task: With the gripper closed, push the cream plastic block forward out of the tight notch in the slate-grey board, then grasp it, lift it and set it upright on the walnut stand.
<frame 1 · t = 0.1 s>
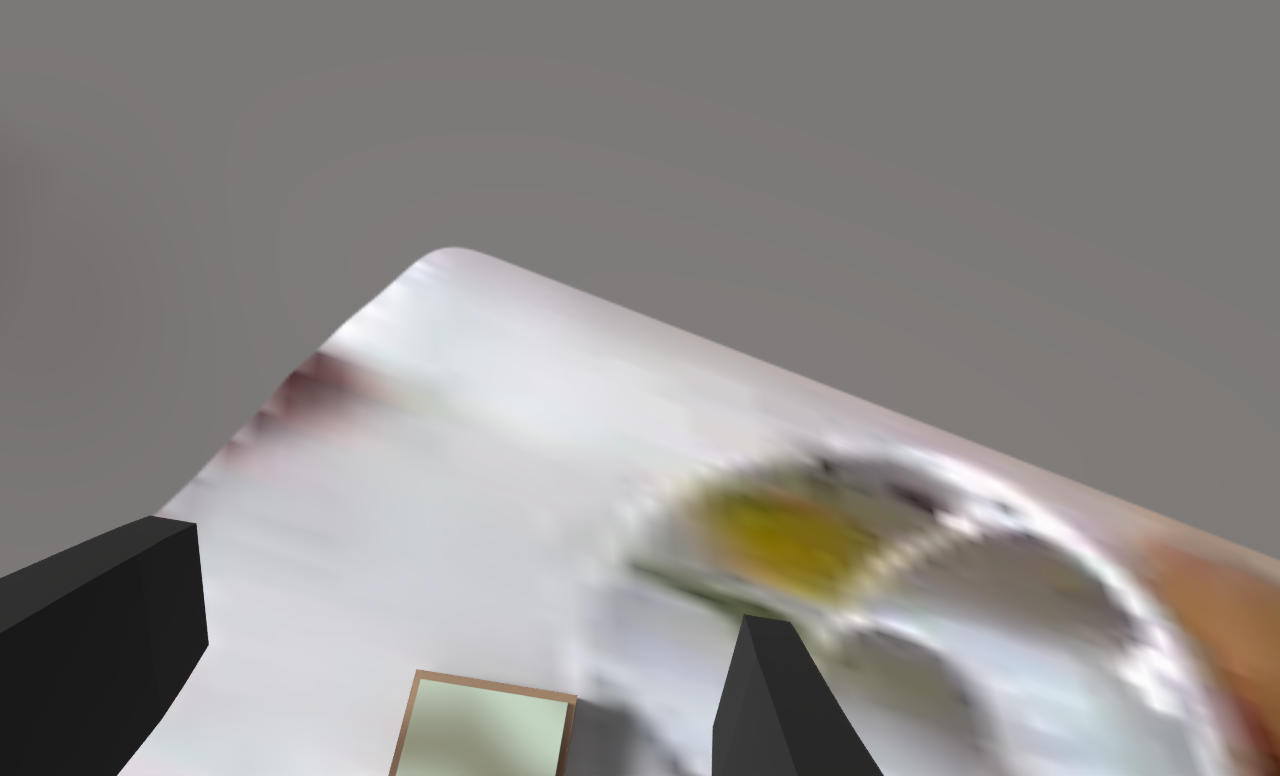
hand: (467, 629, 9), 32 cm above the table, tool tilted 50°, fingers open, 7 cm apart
walnut stand: (485, 769, 37), on the table
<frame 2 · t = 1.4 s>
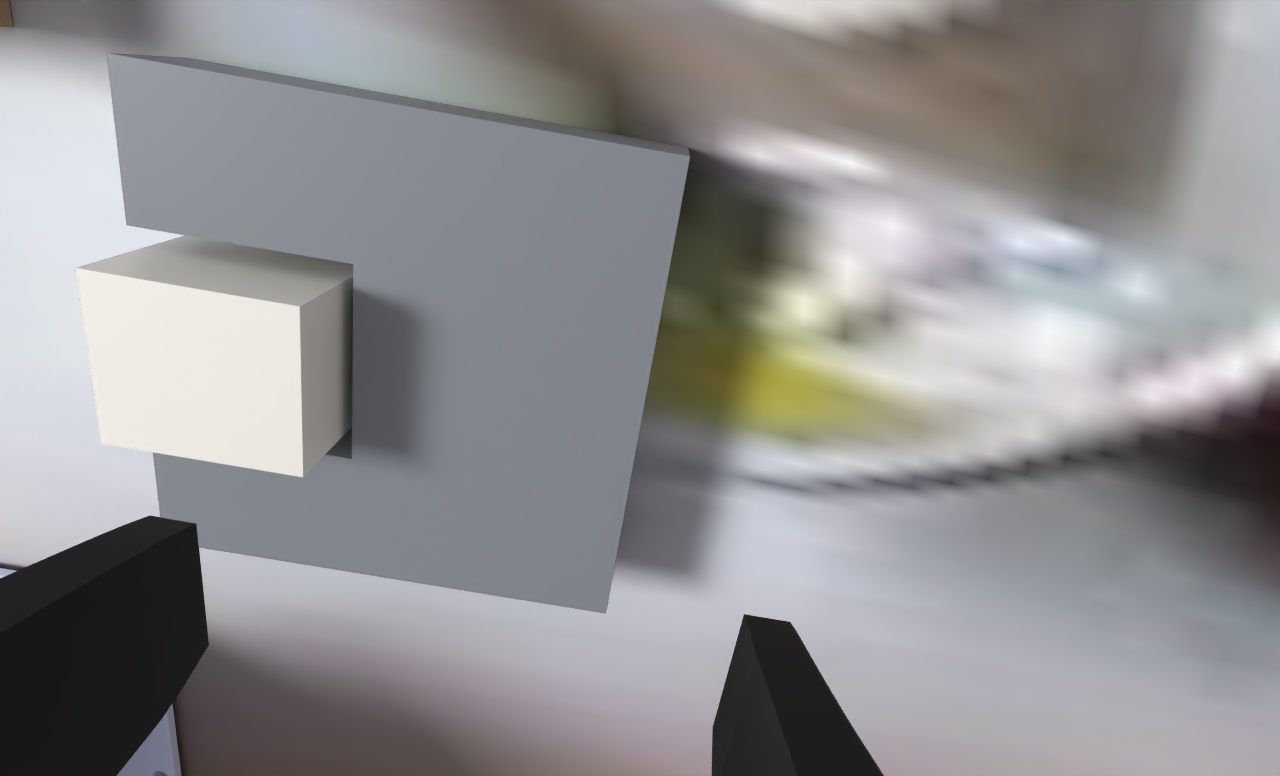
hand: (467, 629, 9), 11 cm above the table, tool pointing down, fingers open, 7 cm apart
cream block: (298, 316, 19), on the table
slate notch board: (426, 339, 19), on the table
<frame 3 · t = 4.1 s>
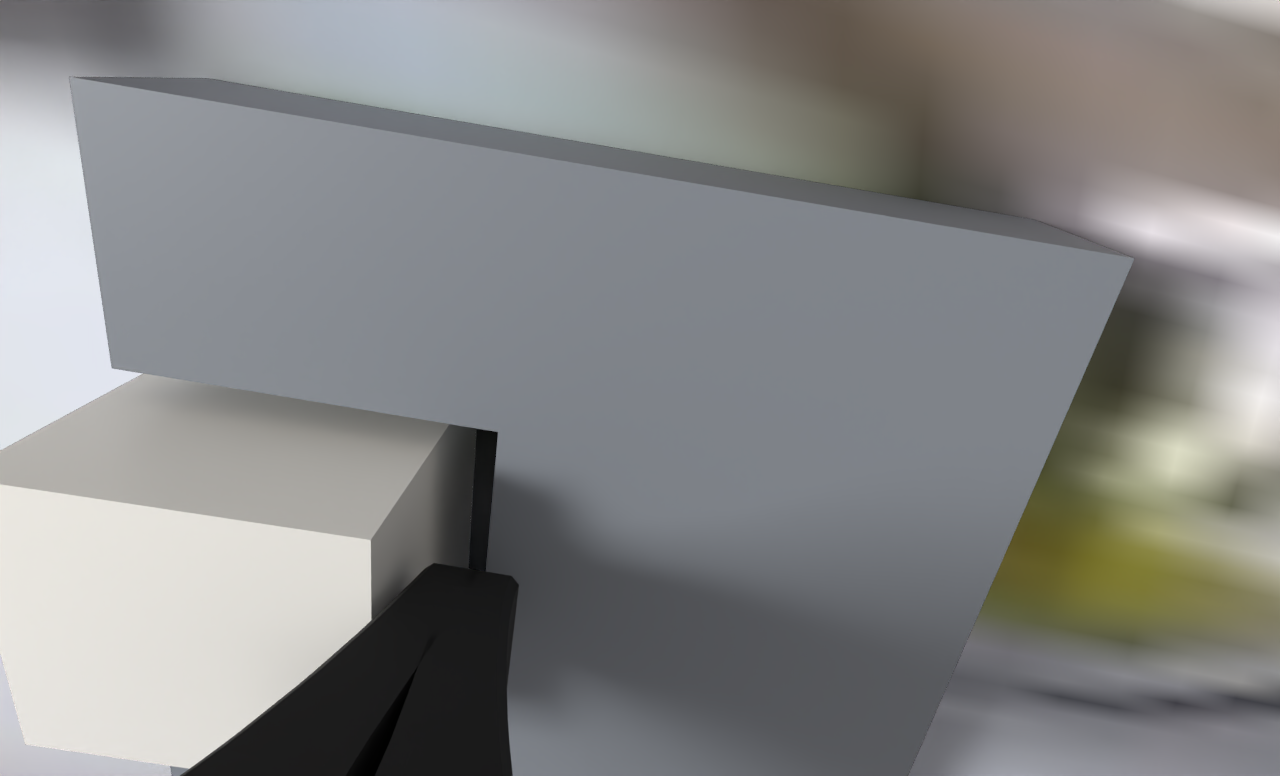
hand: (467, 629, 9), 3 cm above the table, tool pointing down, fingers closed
cream block: (346, 464, 13), on the table, touching gripper
slate notch board: (573, 502, 13), on the table
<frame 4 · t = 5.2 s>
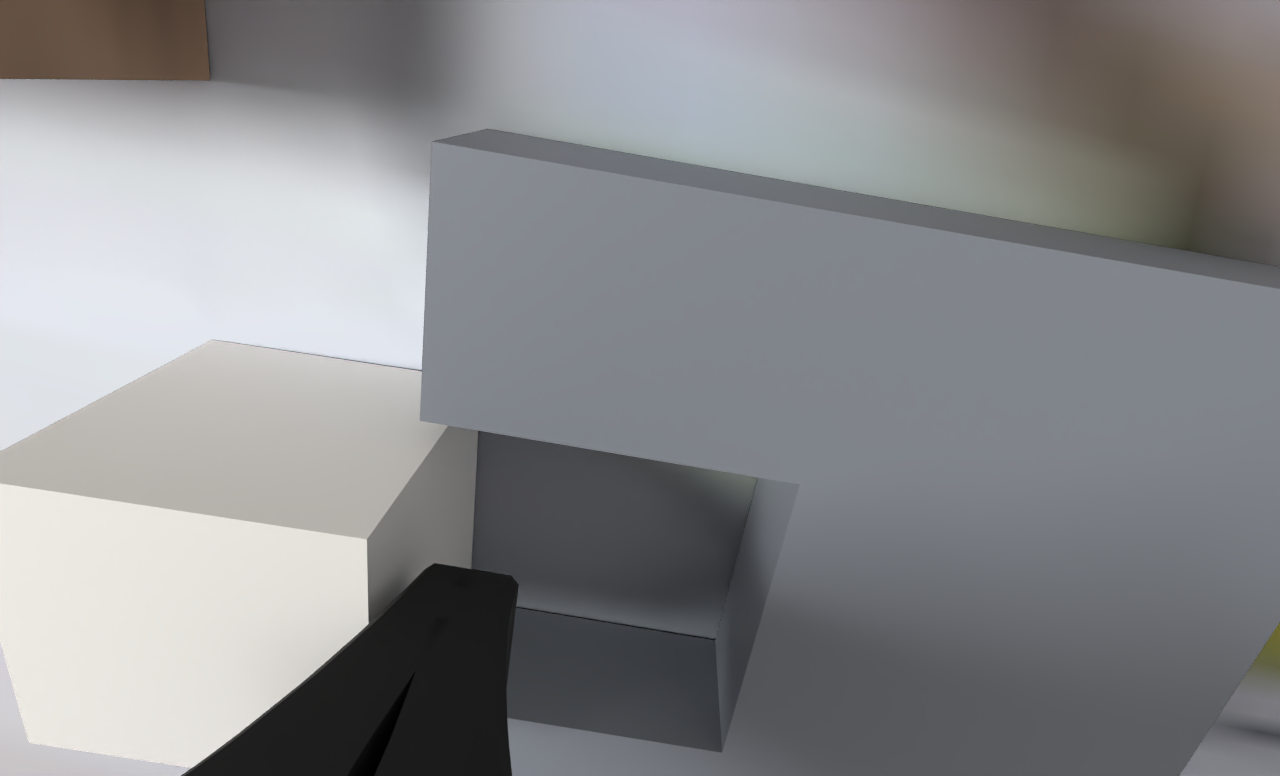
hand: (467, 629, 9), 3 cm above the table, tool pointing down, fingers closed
cream block: (349, 465, 13), on the table, touching gripper
slate notch board: (796, 541, 13), on the table
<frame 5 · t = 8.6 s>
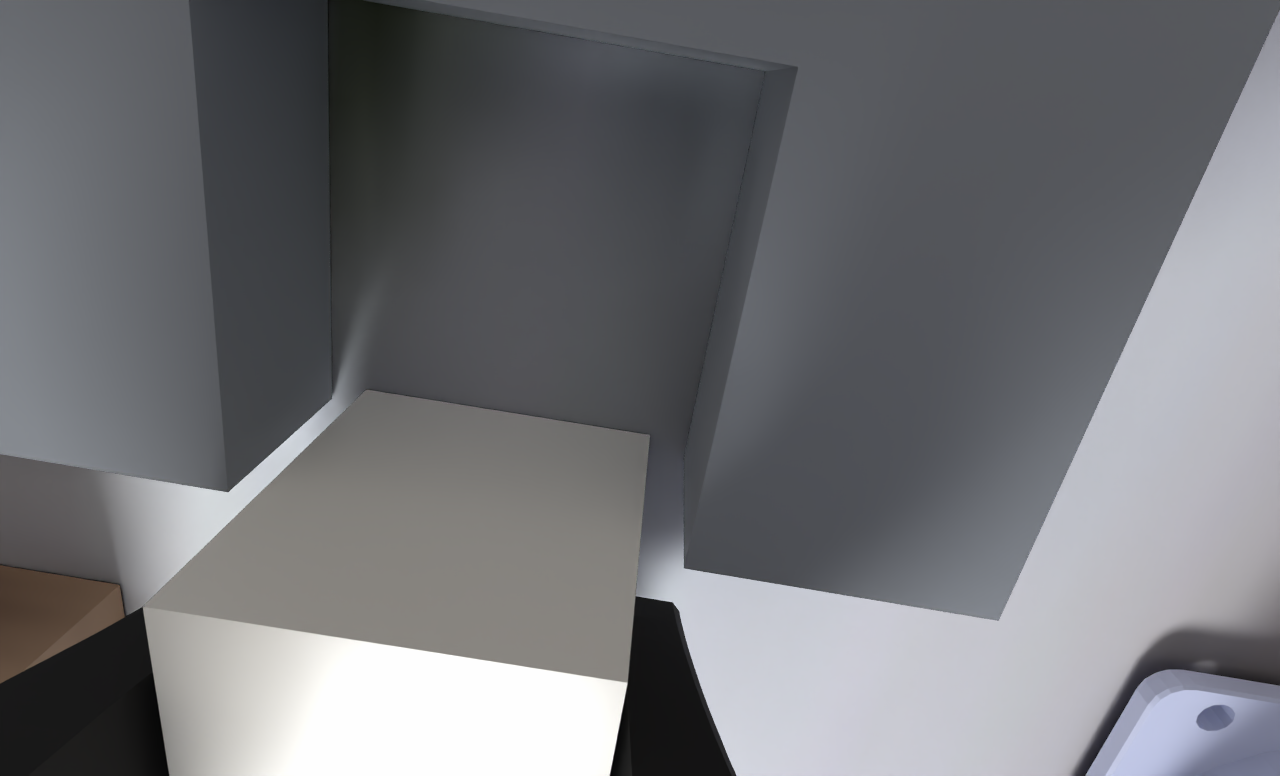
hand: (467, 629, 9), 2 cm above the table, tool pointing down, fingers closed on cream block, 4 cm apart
cream block: (497, 544, 11), on the table, touching gripper
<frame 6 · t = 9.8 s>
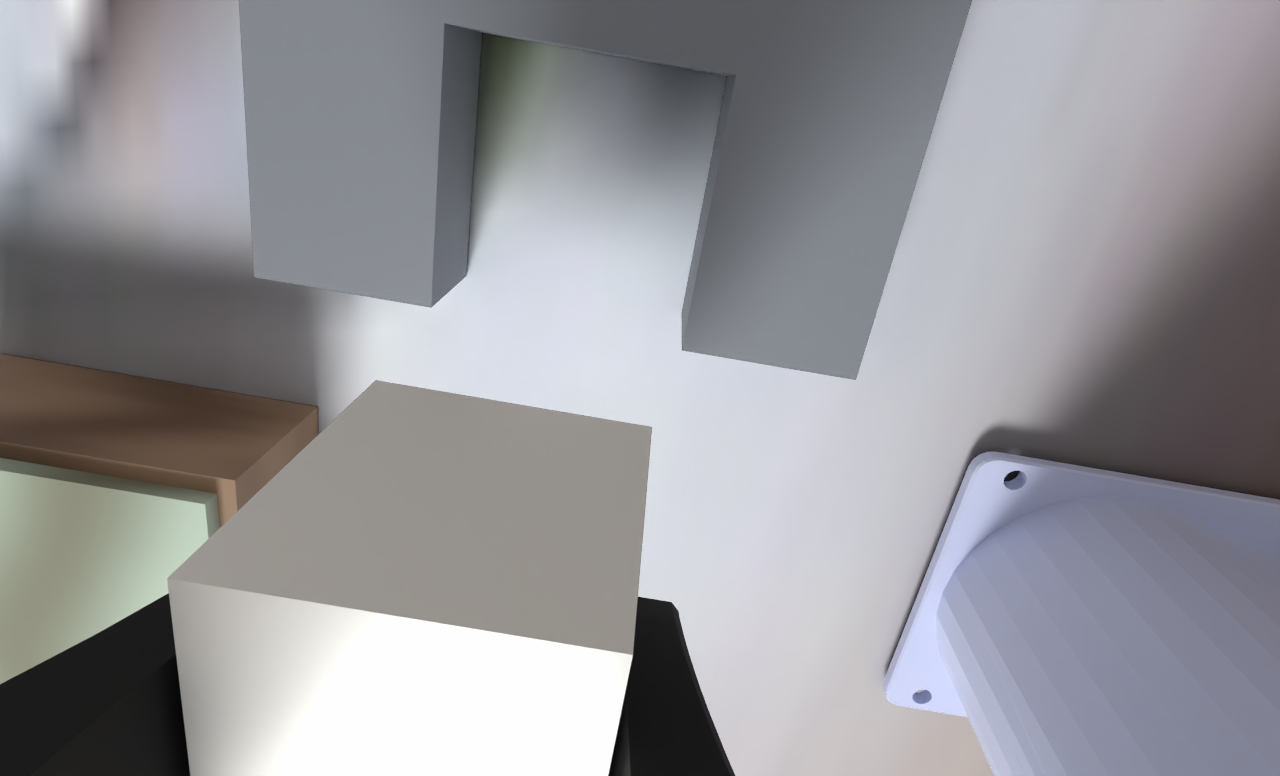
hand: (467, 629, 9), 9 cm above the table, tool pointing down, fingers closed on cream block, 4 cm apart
walnut stand: (173, 514, 19), on the table
cream block: (500, 534, 11), point 7 cm above the table, touching gripper
slate notch board: (611, 1, 14), on the table
when the fingers open (7 cm above the table, at t = 11.5 s): cream block stays where it is, resting on walnut stand.
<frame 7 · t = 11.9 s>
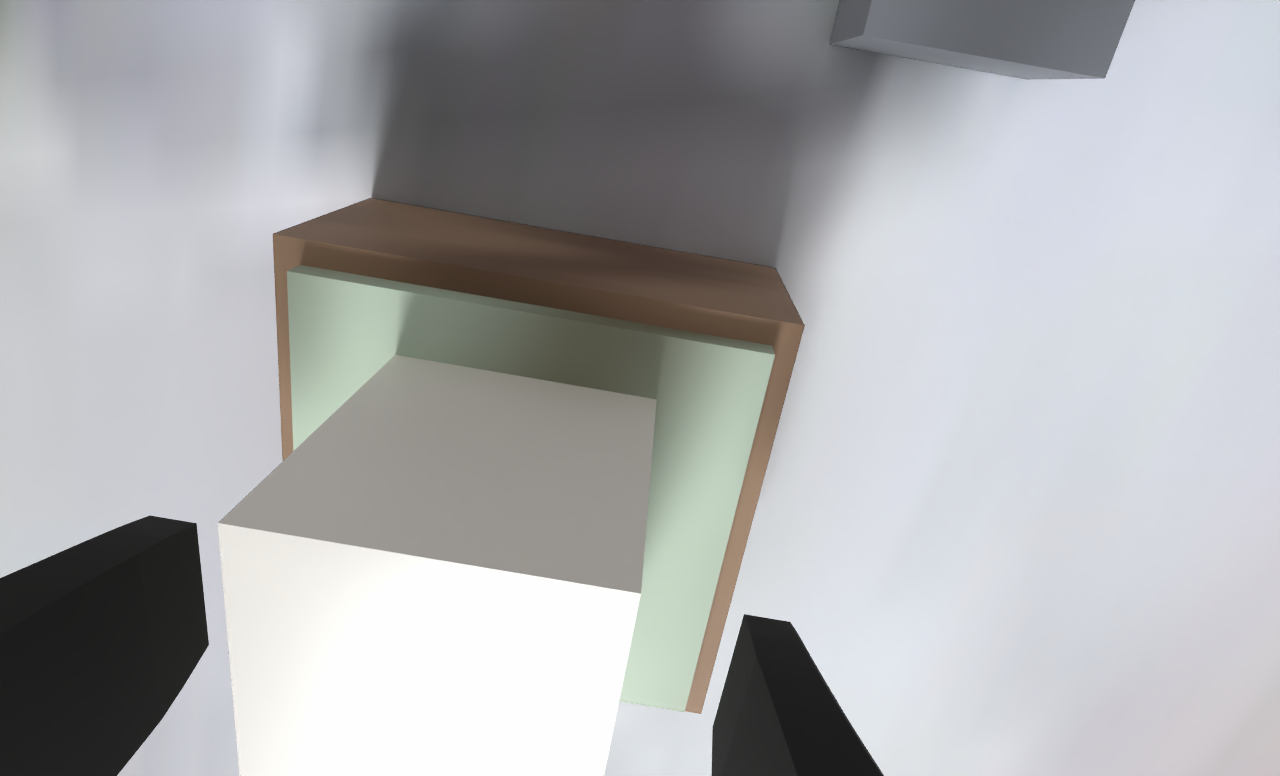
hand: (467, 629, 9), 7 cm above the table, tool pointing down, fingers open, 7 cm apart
walnut stand: (551, 415, 16), on the table
cream block: (512, 502, 12), point 4 cm above the table, touching walnut stand
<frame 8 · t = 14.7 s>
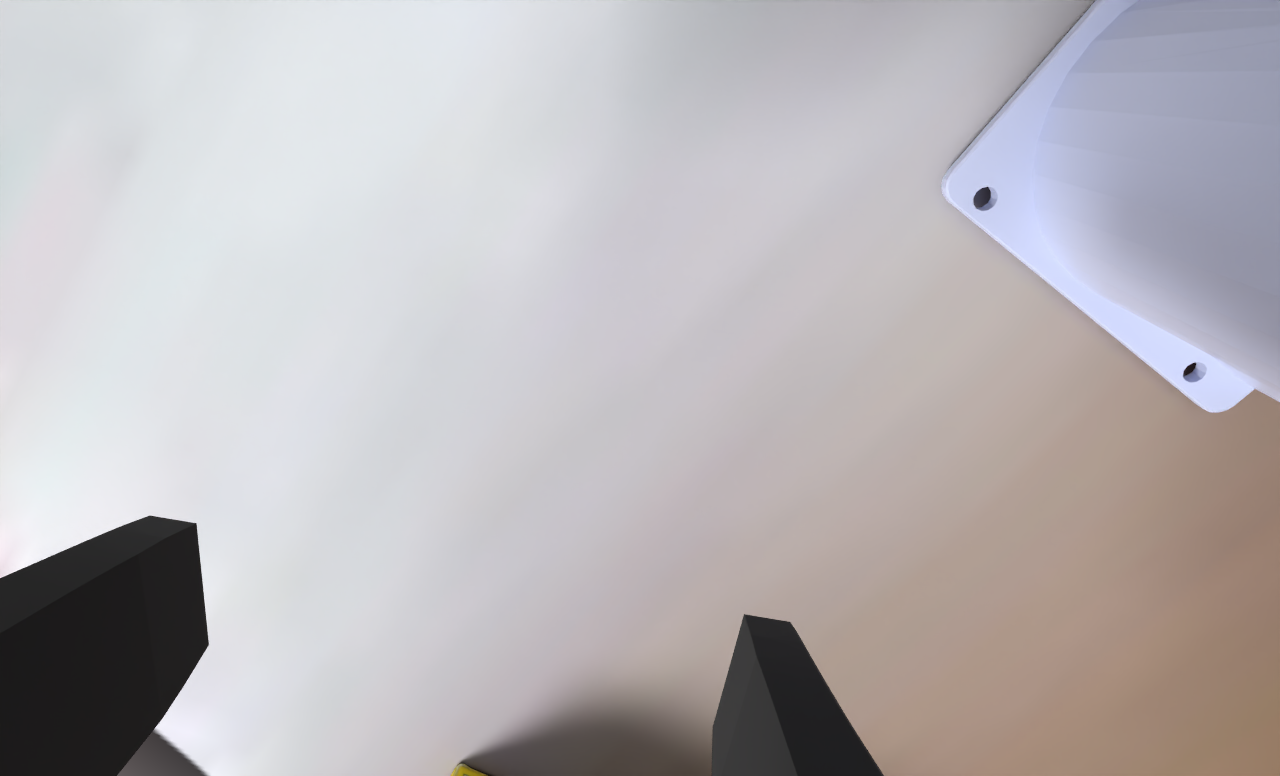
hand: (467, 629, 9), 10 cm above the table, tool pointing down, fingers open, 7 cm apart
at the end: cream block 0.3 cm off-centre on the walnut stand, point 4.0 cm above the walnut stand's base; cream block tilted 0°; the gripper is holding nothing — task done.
